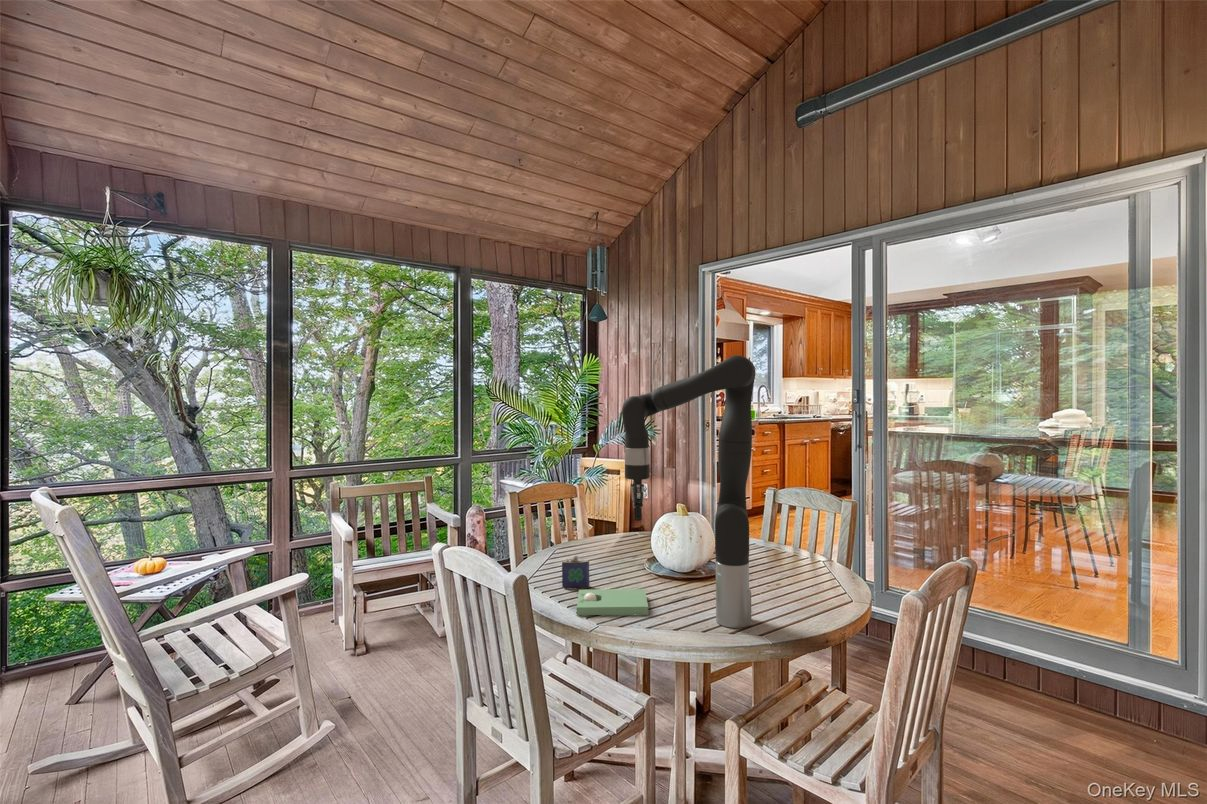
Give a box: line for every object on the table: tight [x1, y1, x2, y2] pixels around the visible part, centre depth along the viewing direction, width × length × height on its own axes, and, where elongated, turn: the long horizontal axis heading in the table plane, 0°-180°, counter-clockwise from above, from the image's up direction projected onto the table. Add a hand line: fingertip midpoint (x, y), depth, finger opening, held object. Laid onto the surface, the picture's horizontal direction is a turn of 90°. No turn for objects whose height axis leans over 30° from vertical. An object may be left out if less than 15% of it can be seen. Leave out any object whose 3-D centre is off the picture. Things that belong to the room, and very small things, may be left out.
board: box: [576, 588, 649, 616], centre depth 173 cm, size 21×15×2 cm
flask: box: [561, 555, 590, 589], centre depth 189 cm, size 9×3×11 cm, turn 95°
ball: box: [584, 593, 597, 601], centre depth 173 cm, size 4×4×4 cm
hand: (637, 520), depth 169 cm, fingers closed
